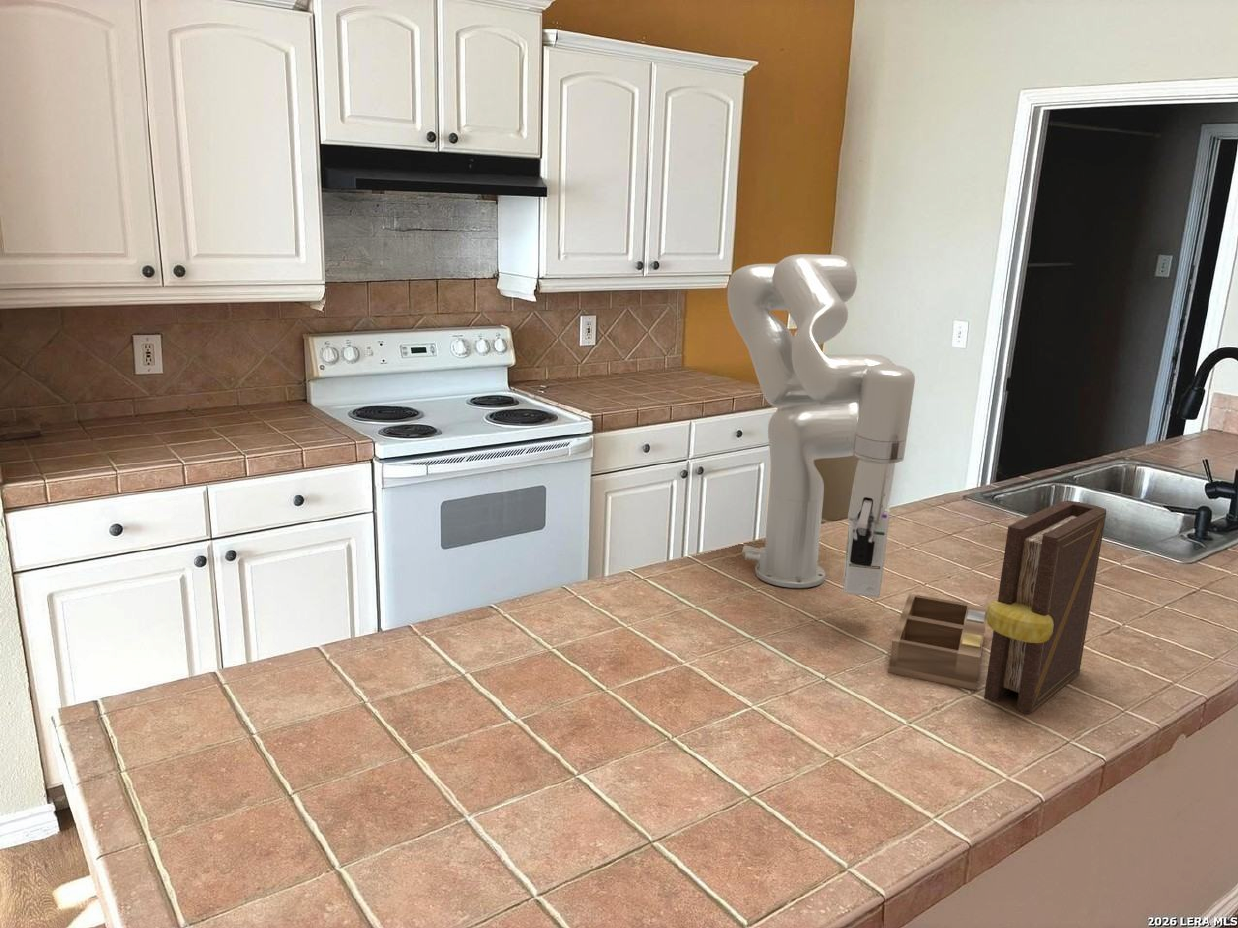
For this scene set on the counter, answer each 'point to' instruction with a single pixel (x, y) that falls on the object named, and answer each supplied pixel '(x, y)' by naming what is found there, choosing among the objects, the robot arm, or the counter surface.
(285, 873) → the counter surface
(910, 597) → the socket block
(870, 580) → the syrup box
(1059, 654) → the book
